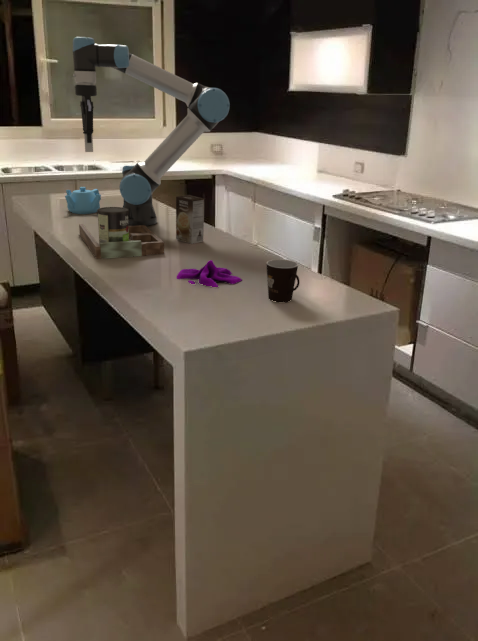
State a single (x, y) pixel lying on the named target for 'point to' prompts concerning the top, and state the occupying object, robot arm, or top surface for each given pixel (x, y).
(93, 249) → the wooden compartment tray
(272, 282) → the coffee mug
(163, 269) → the top surface
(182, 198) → the coffee box
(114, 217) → the coffee can
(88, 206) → the teapot
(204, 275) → the cloth
